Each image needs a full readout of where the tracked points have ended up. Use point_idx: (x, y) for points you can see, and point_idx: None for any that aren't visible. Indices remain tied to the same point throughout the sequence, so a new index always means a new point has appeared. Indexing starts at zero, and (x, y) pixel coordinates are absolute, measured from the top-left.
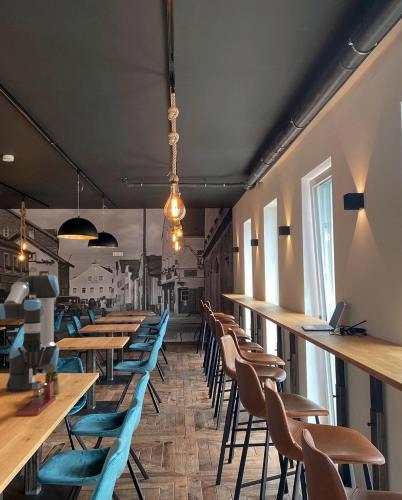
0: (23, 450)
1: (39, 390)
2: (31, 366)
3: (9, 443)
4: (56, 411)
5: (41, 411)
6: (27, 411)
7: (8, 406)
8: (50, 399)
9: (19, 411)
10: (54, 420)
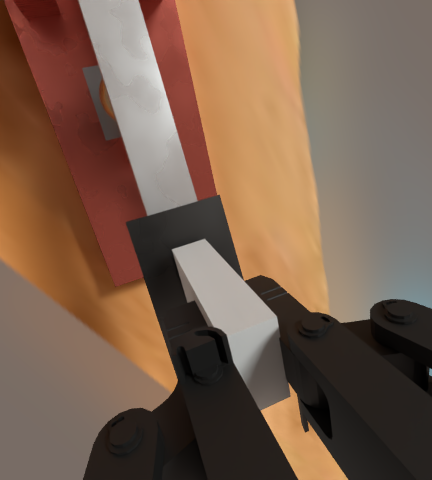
0: (331, 463)
1: None
2: (230, 351)
3: None
4: (276, 166)
5: None
6: None
7: None
8: (168, 4)
9: (132, 280)
10: (317, 273)
